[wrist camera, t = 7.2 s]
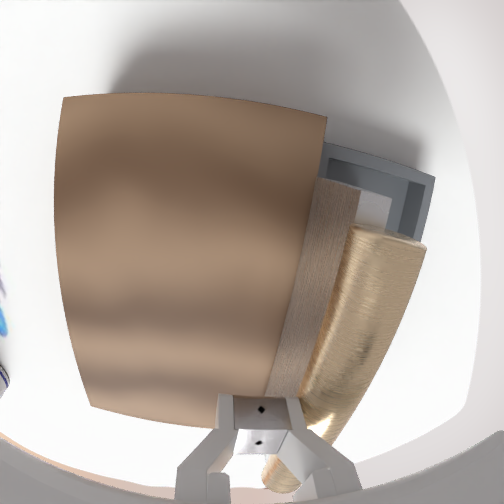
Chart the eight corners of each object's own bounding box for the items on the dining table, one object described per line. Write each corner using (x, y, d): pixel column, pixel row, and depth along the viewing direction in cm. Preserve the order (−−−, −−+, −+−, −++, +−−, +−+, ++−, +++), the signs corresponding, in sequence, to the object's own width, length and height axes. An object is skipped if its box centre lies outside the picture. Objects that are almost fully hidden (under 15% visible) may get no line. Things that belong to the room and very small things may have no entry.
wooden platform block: (101, 107, 15) (63, 97, 10) (301, 126, 16) (327, 117, 12) (107, 368, 22) (90, 405, 17) (249, 388, 24) (254, 430, 19)
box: (306, 142, 17) (318, 140, 15) (415, 173, 18) (435, 177, 16) (257, 381, 23) (259, 401, 21) (346, 380, 24) (354, 398, 22)
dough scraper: (304, 174, 12) (383, 200, 6) (350, 184, 13) (452, 220, 6) (251, 412, 18) (260, 499, 11) (283, 412, 18) (301, 496, 11)
